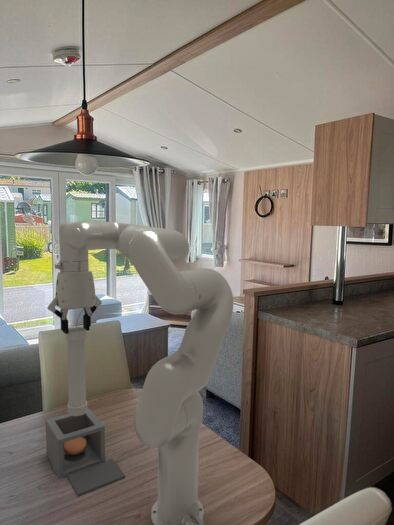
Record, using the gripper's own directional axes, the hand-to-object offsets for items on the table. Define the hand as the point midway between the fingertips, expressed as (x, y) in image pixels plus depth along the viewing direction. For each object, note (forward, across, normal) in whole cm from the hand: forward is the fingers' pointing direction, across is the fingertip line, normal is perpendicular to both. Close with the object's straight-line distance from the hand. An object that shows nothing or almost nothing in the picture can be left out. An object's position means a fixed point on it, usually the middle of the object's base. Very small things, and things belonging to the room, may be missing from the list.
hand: (76, 330), depth 108 cm
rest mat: (+39, +2, -9) cm, 40 cm away
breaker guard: (+39, 0, +2) cm, 39 cm away
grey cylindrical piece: (+24, 0, 0) cm, 24 cm away
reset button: (+37, 0, +2) cm, 37 cm away
